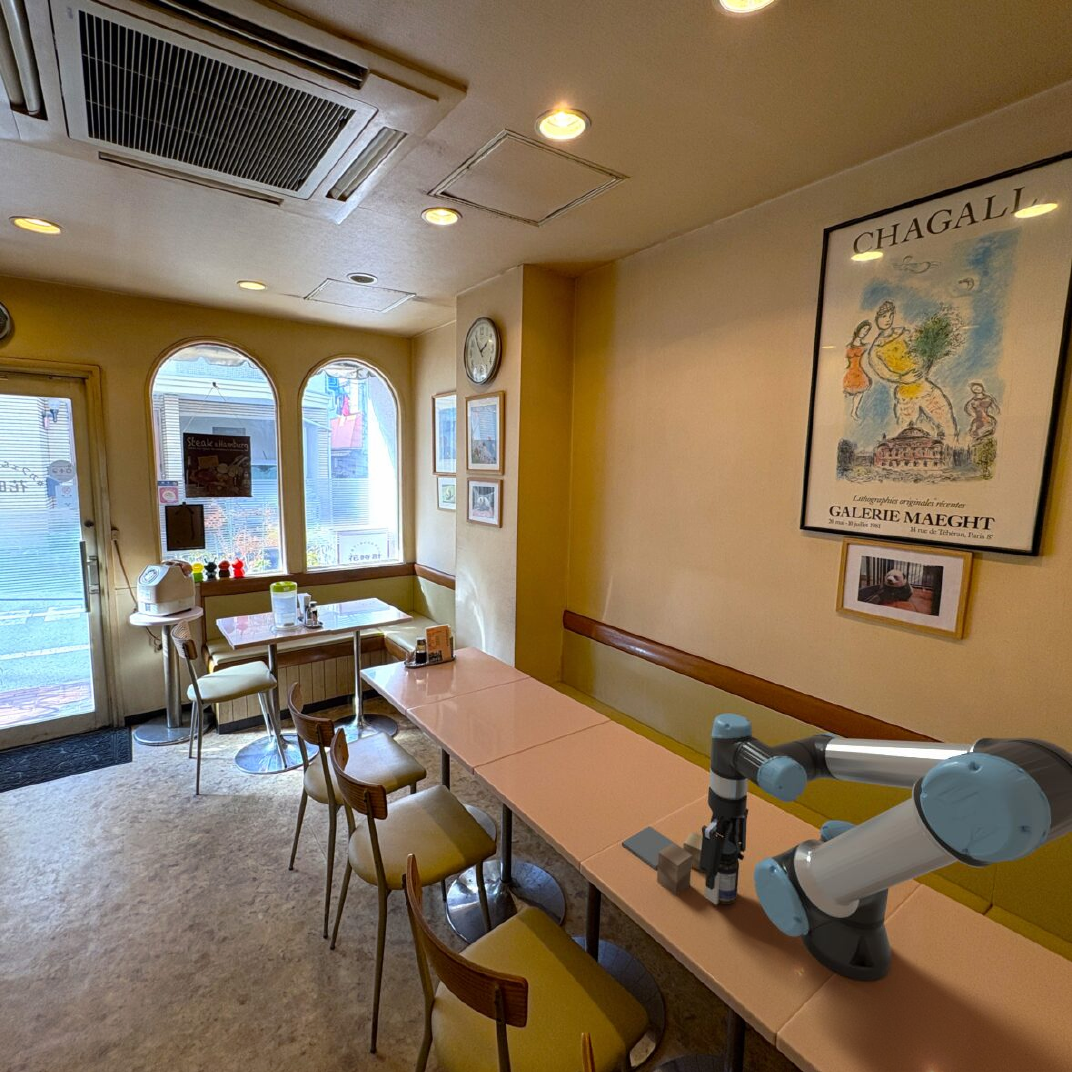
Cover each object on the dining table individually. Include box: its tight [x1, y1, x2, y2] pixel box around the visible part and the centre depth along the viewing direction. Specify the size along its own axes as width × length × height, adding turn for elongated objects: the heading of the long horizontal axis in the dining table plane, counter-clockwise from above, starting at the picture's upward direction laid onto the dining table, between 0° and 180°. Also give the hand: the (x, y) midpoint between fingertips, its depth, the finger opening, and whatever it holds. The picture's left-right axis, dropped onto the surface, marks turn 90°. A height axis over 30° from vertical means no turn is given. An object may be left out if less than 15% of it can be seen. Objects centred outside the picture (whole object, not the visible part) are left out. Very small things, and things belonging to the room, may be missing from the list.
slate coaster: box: [621, 825, 683, 870], centre depth 134 cm, size 10×10×1 cm
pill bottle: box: [718, 841, 740, 905], centre depth 119 cm, size 6×6×11 cm
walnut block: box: [656, 842, 692, 896], centre depth 123 cm, size 5×5×7 cm
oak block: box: [682, 831, 703, 871], centre depth 130 cm, size 5×5×5 cm
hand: (720, 892), depth 120 cm, fingers closed on pill bottle, 6 cm apart
